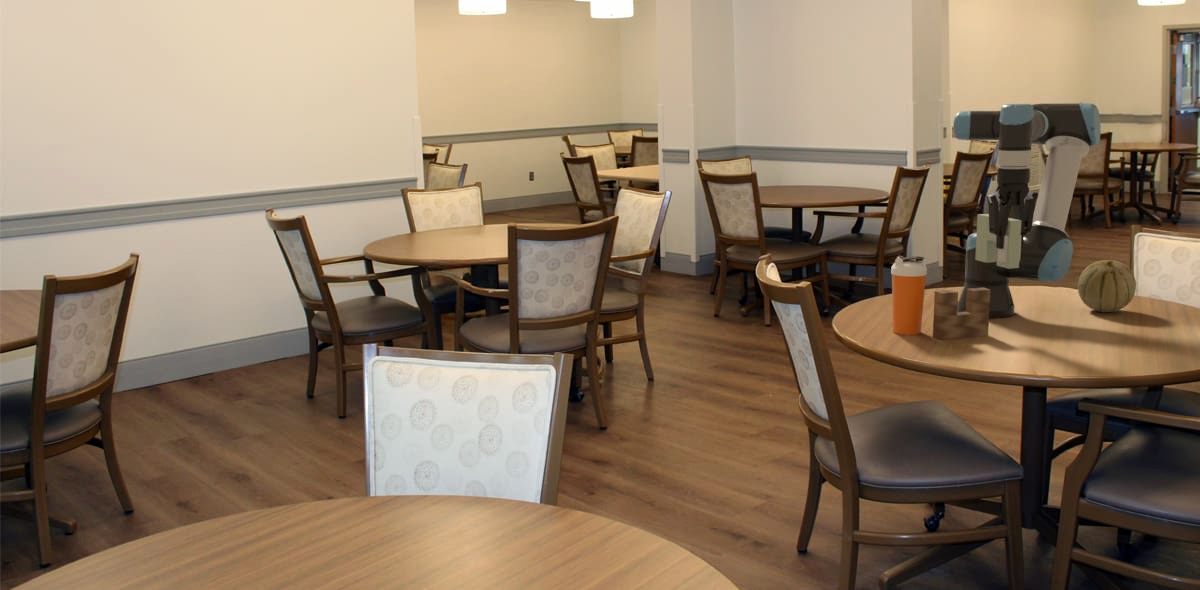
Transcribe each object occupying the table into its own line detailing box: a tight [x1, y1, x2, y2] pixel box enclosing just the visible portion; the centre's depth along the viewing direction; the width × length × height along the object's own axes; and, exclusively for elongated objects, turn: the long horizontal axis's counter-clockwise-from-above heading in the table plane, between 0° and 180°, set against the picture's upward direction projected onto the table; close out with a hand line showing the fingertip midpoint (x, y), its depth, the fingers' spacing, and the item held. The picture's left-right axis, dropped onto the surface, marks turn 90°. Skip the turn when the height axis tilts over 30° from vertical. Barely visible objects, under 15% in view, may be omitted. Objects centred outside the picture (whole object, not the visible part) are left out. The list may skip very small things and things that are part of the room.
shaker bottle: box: [890, 255, 928, 336], centre depth 263 cm, size 9×9×20 cm
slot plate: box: [975, 213, 1021, 269], centre depth 258 cm, size 14×3×12 cm, turn 13°
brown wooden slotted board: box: [932, 288, 990, 341], centre depth 258 cm, size 14×3×12 cm, turn 103°
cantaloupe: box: [1077, 259, 1137, 313], centre depth 281 cm, size 15×15×15 cm
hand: (1008, 260), depth 254 cm, fingers closed on slot plate, 3 cm apart
